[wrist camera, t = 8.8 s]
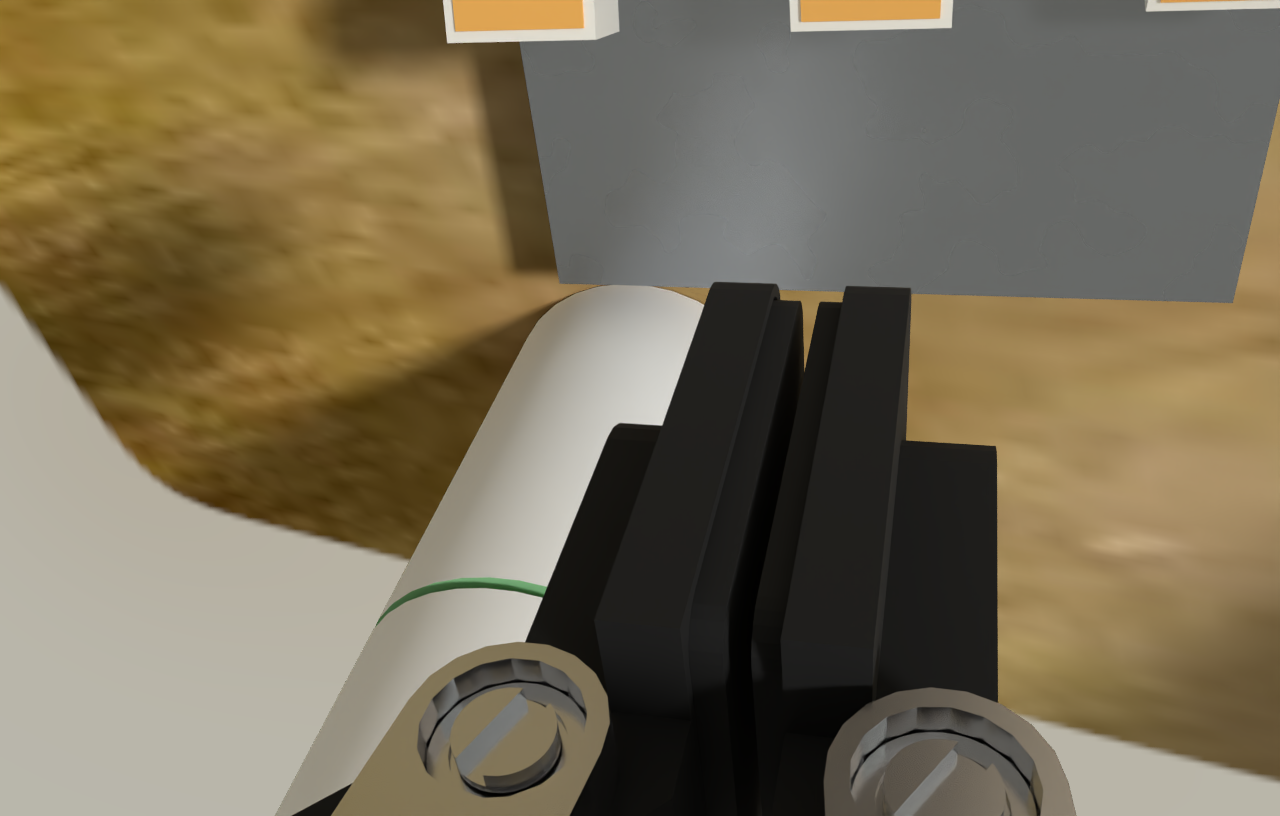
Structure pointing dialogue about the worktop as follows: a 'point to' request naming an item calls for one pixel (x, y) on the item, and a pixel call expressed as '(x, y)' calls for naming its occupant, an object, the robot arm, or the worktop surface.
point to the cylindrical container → (507, 509)
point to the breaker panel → (910, 149)
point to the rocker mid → (869, 14)
